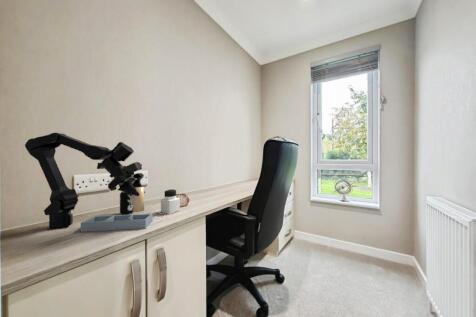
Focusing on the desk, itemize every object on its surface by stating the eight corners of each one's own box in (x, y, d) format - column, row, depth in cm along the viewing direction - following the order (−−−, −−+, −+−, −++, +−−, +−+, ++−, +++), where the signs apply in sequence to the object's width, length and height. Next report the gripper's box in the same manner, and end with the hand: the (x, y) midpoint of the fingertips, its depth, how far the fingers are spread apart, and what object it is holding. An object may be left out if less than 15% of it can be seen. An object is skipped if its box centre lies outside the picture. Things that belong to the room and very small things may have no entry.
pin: (135, 212, 78) (135, 188, 78) (131, 210, 81) (131, 187, 81) (145, 210, 81) (145, 187, 81) (141, 208, 84) (141, 186, 84)
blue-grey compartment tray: (80, 231, 75) (80, 222, 75) (94, 224, 83) (94, 216, 83) (145, 228, 78) (145, 219, 78) (152, 221, 86) (152, 213, 86)
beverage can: (123, 215, 95) (123, 192, 96) (117, 213, 99) (117, 191, 99) (136, 212, 101) (136, 190, 101) (130, 210, 105) (130, 189, 105)
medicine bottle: (180, 211, 103) (180, 189, 103) (169, 214, 97) (169, 191, 97) (171, 209, 107) (171, 188, 107) (160, 212, 101) (160, 190, 101)
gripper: (115, 155, 72) (144, 184, 72) (139, 156, 90) (163, 178, 91) (94, 176, 72) (124, 204, 72) (123, 172, 90) (146, 195, 90)
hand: (141, 194), depth 81 cm, fingers closed on pin, 4 cm apart
